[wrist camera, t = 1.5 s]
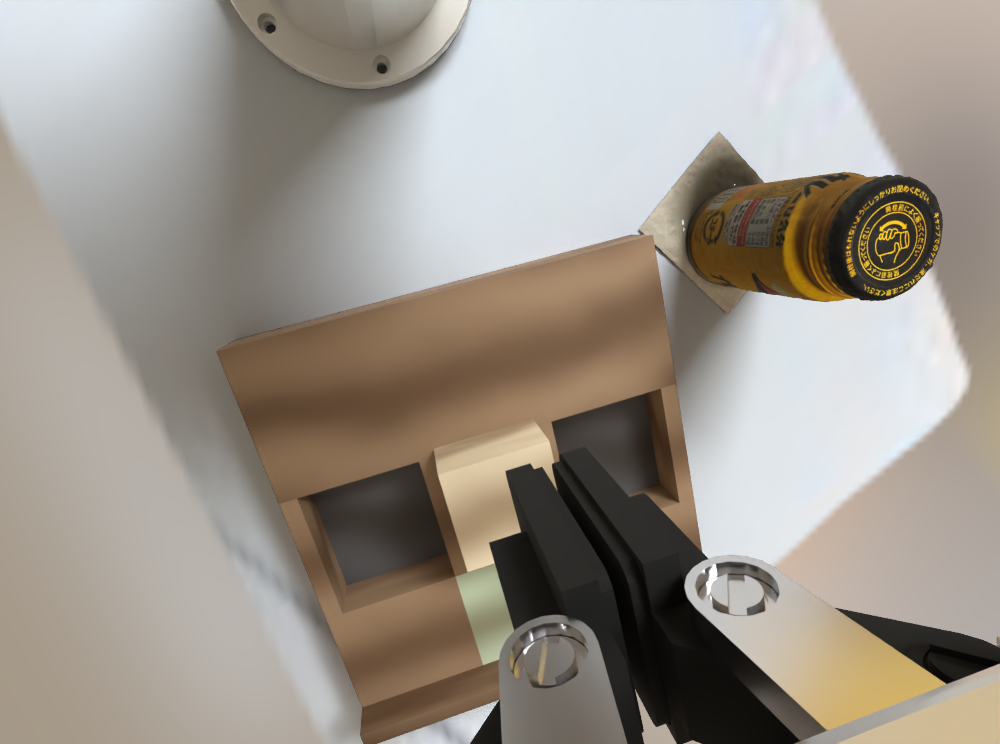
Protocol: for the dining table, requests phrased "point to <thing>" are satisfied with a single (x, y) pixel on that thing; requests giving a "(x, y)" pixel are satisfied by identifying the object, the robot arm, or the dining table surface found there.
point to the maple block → (488, 484)
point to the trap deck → (444, 420)
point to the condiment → (795, 231)
